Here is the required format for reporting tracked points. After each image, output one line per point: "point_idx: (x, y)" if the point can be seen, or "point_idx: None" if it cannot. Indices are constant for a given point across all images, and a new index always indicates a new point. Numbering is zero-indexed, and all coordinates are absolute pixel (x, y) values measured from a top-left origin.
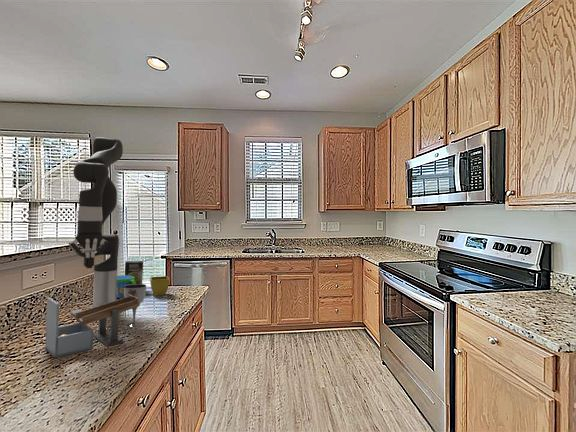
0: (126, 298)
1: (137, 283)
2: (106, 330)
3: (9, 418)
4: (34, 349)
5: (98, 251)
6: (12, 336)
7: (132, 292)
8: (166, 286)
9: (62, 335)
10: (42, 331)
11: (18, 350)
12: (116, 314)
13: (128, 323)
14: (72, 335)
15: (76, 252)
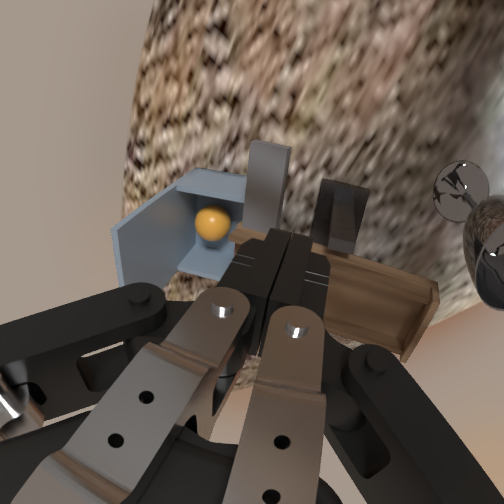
0: (416, 299)
1: None
2: (362, 193)
3: None
4: (176, 153)
5: (335, 445)
6: (168, 7)
7: (473, 283)
8: None
9: (202, 232)
10: (238, 13)
11: (151, 131)
12: None
13: (453, 182)
14: (209, 276)
15: (87, 316)
